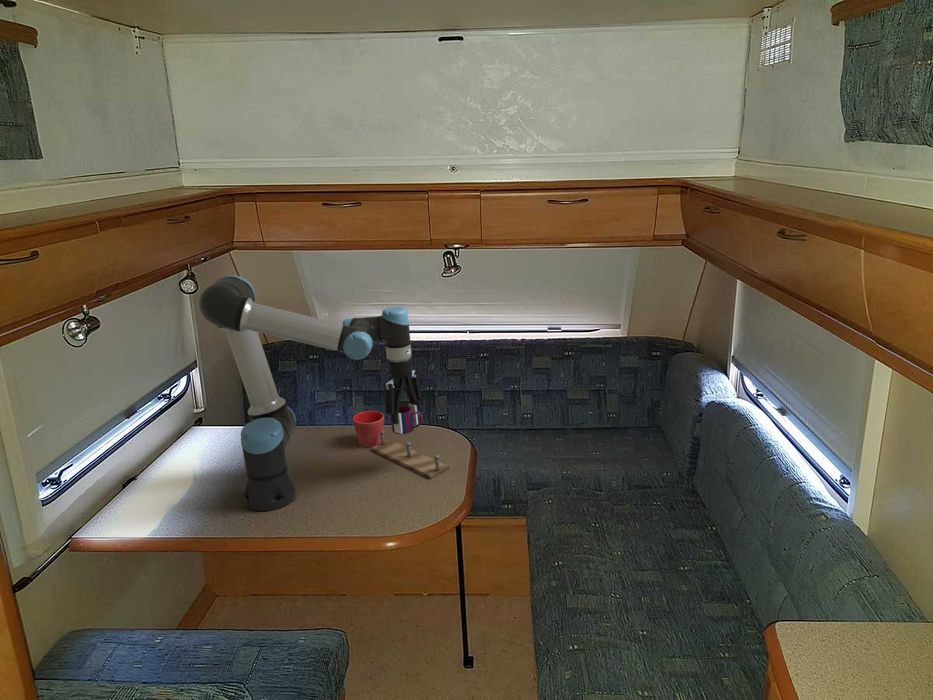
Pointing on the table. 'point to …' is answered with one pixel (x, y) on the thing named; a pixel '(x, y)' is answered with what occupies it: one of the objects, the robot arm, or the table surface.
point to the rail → (410, 458)
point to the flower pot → (369, 427)
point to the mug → (407, 419)
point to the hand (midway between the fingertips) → (406, 428)
